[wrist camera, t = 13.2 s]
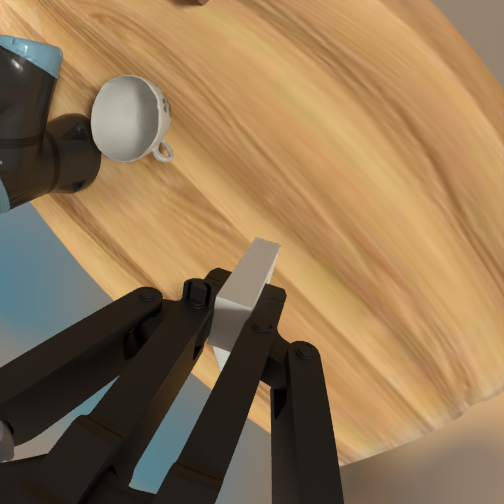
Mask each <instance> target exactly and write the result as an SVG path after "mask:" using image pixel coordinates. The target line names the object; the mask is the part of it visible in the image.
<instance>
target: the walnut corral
mask: <svg viewBox="0 0 504 504" xmlns="http://www.w3.org/2000/svg"><path fill="white" fill-rule="evenodd" d="M197 1H198V2H200V3H201V4H202V5H205V4H206V3H207V2H208V1H209V0H197Z"/></svg>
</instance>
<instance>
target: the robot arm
mask: <svg viewBox="0 0 504 504" xmlns="http://www.w3.org/2000/svg"><path fill="white" fill-rule="evenodd" d="M62 59H63V53H62V51H61V49H60V48H58V47H56V46H53V45H49V44H45V43H41V42H36V41H32V40H27V39H22V38H17V37H12V36H7V35H0V214H1V213H4V212H8V211H9V210H10V209H13V208H15V207H17V206H19V205H22V204H24V203H26V202H28V201H31V200H33V199H35V198H38V197H40V196H42V195H45V194H47V193H68V194H70V193H76V192H79V191H81V190H84V189H86V188H87V187H89V186H90V185H91V184H92V182H93V181H94V180H95V178H96V176H97V174H98V171H99V167H100V162H101V151H100V150H99V149H98V147H97V145H96V143H95V142H94V139H93V135H92V129H91V121H90V120H89V119H88V118H86V117H85V116H83V115H81V114H76V113H74V114H65V115H62V116H59V117H57V118H56V119H54V120H52V121H51V122H49V123H47V118H48V114H49V110H50V105H51V101H52V97H53V94H54V90H55V86H56V83H57V80H58V79H59V76H58V75H59V71H60V67H61V63H62ZM46 123H47V124H46ZM280 246H281V245H280V244H277V243H274V242H271V241H267V240H264V239H261V238H258V237H256V238H255V239H254V241H253V242H252V244H251V245H250V247H249V248H248V250H247V251H246V253H245V254H244V256H243V257H242V259H241V260H240V262H239V263H238V264H237V266H236V267H235V269H234V270H233V272H230V271H227V270H224V269H221V268H216V269H214V270H211V271H210V272H209V273H208V275H207V276H206V277H205V278H204V280H203V279H199V278H192V279H188V280H186V281H185V282H184V287H183V295H182V299H181V300H180V301H173V300H166V299H163V296H162V293H161V292H160V291H159V290H157V289H155V288H153V287H140V288H137V289H135V290H134V291H132V292H130V293H128V294H126V295H125V296H123V297H121V298H119V299H118V300H116V301H114V302H112V303H111V304H109V305H107V306H105V307H103V308H102V309H100V310H98V311H96V312H95V313H93V314H91V315H89V316H88V317H86V318H84V319H82V320H81V321H79V322H77V323H76V324H74V325H72V326H70V327H68V328H67V329H65V330H63V331H62V332H60V333H58V334H56V335H55V336H53V337H51V338H50V339H48V340H46V341H44V342H43V343H41V344H39V345H38V346H36V347H35V348H33V349H31V350H29V351H27V352H26V353H24V354H22V355H21V356H19V357H17V358H16V359H14V360H12V361H11V362H9V363H7V364H6V365H4V366H3V367H1V368H0V504H215V502H216V499H217V497H218V494H219V491H220V489H221V487H222V484H223V480H224V477H225V474H226V471H227V469H228V467H229V464H230V461H231V459H232V456H233V453H234V451H235V448H236V445H237V443H238V440H239V437H240V435H241V432H242V429H243V426H244V424H245V421H246V418H247V416H248V413H249V410H250V407H251V404H252V402H253V399H254V396H255V393H256V390H257V387H258V384H259V381H260V380H261V381H263V382H264V383H266V384H267V385H269V386H270V387H271V389H270V399H271V456H272V504H344V499H343V492H342V485H341V478H340V470H339V463H338V456H337V450H336V443H335V437H334V431H333V425H332V419H331V413H330V407H329V401H328V396H327V390H326V384H325V379H324V374H323V368H322V363H321V358H320V354H319V351H318V350H317V349H316V347H315V346H313V345H312V344H310V343H308V342H304V341H295V342H292V343H289V342H287V341H286V340H284V339H283V338H282V337H281V336H280V335H279V333H278V330H277V325H278V322H279V319H280V316H281V313H282V309H283V306H284V303H285V300H286V293H285V290H284V289H282V288H279V287H276V286H273V285H270V284H269V282H270V279H271V276H272V273H273V269H274V266H275V263H276V259H277V256H278V253H279V249H280ZM207 338H208V341H207V344H210V345H212V346H215V347H218V348H220V349H223V350H226V351H228V352H231V353H230V355H229V357H228V359H227V361H226V363H225V365H224V367H223V369H222V371H221V373H220V375H219V377H218V379H217V381H216V384H215V386H214V388H213V390H212V392H211V394H210V396H209V398H208V400H207V402H206V404H205V406H204V408H203V410H202V412H201V414H200V416H199V418H198V420H197V422H196V424H195V426H194V428H193V430H192V432H191V434H190V436H189V438H188V440H187V442H186V444H185V446H184V448H183V450H182V452H181V454H180V456H179V458H178V459H177V461H176V462H175V463H173V465H172V466H171V468H170V469H169V471H168V473H167V475H166V477H165V479H164V481H163V483H162V484H161V487H160V488H159V490H158V492H157V494H153V493H149V492H144V491H140V490H136V489H133V488H131V487H129V486H128V485H129V483H130V482H131V479H132V476H133V472H134V469H135V467H136V465H137V463H138V461H139V460H140V458H141V456H142V455H143V453H144V451H145V450H146V448H147V446H148V444H149V443H150V441H151V439H152V438H153V436H154V434H155V432H156V431H157V429H158V427H159V425H160V423H161V422H162V420H163V419H164V417H165V415H166V414H167V412H168V410H169V408H170V407H171V405H172V403H173V402H174V400H175V398H176V396H177V395H178V393H179V391H180V389H181V388H182V386H183V384H184V383H185V380H186V379H187V377H188V376H189V374H190V372H191V371H192V369H193V367H194V365H195V364H196V362H197V360H198V358H199V357H200V355H201V353H202V351H203V348H204V343H205V341H206V339H207ZM119 375H120V376H119ZM118 376H119V377H118ZM116 377H118V378H117V380H116V381H115V382H114V383H113V385H112V386H111V387H110V389H109V390H108V391H107V392H106V394H105V395H104V396H103V398H102V399H101V400H100V401H99V403H98V404H97V405H96V407H95V408H94V409H93V410H92V412H91V413H90V414H88V415H80V416H78V417H77V418H76V419H75V420H74V421H73V422H72V423H71V425H70V426H69V427H68V429H67V430H66V431H65V432H64V434H63V435H62V436H61V437H60V439H59V440H58V441H57V443H56V444H55V445H54V446H53V448H52V449H51V450H50V452H49V453H48V454H43V455H39V456H34V457H30V458H25V459H20V460H14V461H10V460H12V459H13V457H14V446H17V445H21V444H23V443H25V442H27V441H29V440H31V439H33V438H34V437H36V436H38V435H39V434H41V433H42V432H43V431H45V430H46V429H48V428H49V427H50V426H52V425H53V424H54V423H56V422H57V421H59V420H60V419H61V418H62V417H64V416H65V415H67V414H68V413H69V412H71V411H72V410H73V409H75V408H76V407H78V406H79V405H80V404H82V403H83V402H84V401H85V400H87V399H88V398H90V397H91V396H92V395H94V394H95V393H96V392H98V391H99V390H100V389H102V388H103V387H104V386H106V385H107V384H108V383H110V382H111V381H112V380H114V379H115V378H116ZM4 460H6V461H10V462H3V463H1V462H2V461H4Z"/></svg>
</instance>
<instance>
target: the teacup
mask: <svg viewBox="0 0 504 504" xmlns="http://www.w3.org/2000/svg"><path fill="white" fill-rule="evenodd" d="M170 123H171V106H170V103H169V101H168V98H167V96H166V95H165V93H164V92H163V91H162V90H161V89H160V87H158V86H157V85H156V84H154V83H153V82H151V81H150V80H148V79H146V78H143V77H140V76H136V75H120V76H117V77H115V78H113V79H110V80H109V81H107V82H106V83H105V84H104V85H103V86H102V88H101V90H100V91H99V93H98V95H97V97H96V99H95V102H94V105H93V108H92V113H91V129H92V135H93V139H94V142H95V143H96V145H97V147H98V149H99V150H100V151H101V152H102V153H103V154H104V155H105V156H107V157H108V158H109V159H111V160H114V161H116V162H119V163H122V162H133V161H136V160H139V159H141V158H143V157H144V156H146V155H148V154H149V153H150V152H153V155H154V157H155V158H156V159H157V160H158V161H162V162H169V161H171V160H172V159H173V151H172V149H171V147H170V146H169V145H168V144H167V142H166V141H165V139H164V137H165V136H166V134H167V132H168V130H169V127H170ZM160 143H162V144H163V145H164V148H165V149H166V150H167V152H168V154H169V157H166V156H164V155H162V154H161V153H160V152H159V150H158V149H159V145H160Z"/></svg>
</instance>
